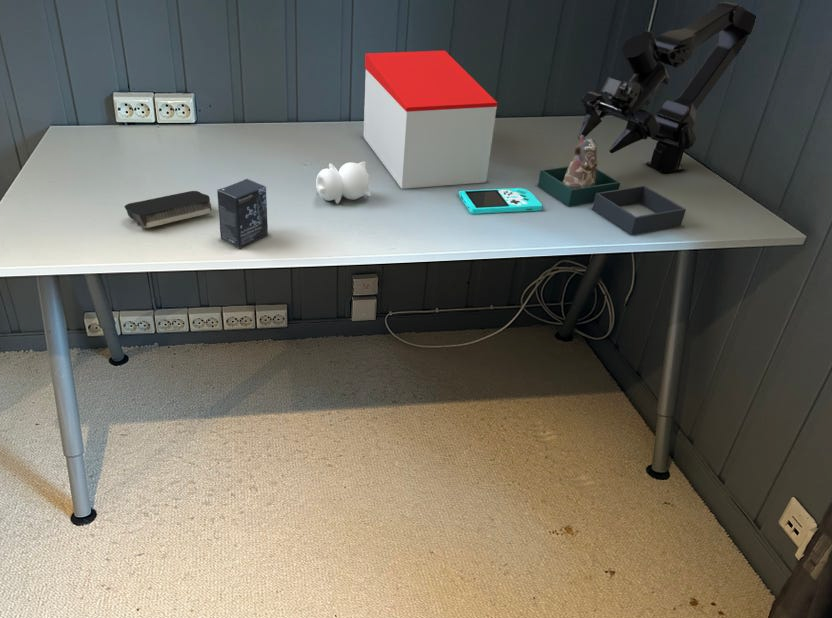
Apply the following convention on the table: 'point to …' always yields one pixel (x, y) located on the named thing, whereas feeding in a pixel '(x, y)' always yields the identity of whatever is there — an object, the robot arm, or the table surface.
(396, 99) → the storage cube
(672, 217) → the grey tote
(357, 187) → the cat figurine
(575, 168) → the ceramic spout vessel
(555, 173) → the teal tote
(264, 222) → the box
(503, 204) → the handheld game console
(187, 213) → the black sponge
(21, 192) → the table surface
